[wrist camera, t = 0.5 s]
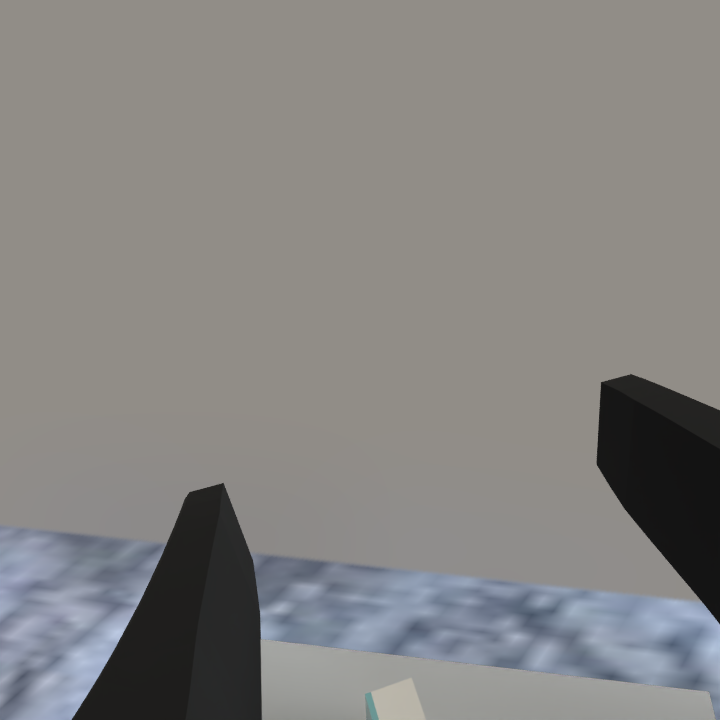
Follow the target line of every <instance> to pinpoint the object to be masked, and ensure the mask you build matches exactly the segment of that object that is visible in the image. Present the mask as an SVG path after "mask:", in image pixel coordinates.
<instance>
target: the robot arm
mask: <svg viewBox="0 0 720 720" xmlns="http://www.w3.org/2000/svg"><path fill="white" fill-rule="evenodd" d="M597 466H598V468H599V469H600V471H601V472H602V474H603V476H604V477H605V479H606V481H607V482H608V484H609V485H610V487H611V489H612V490H613V492H614V493H615V495H616V496H617V498H618V499H619V501H620V502H621V504H622V506H623V507H624V508H625V510H626V511H627V512H628V514H629V515H630V516H631V517H632V518H633V520H634V521H635V522H636V523H637V525H638V526H639V527H640V528H641V529H642V531H643V532H644V533H645V534H646V535H647V537H648V538H649V539H650V540H651V542H652V543H653V544H654V545H655V546H656V547H657V549H658V550H659V551H660V552H661V553H662V555H663V556H664V557H665V558H666V559H667V561H668V562H669V563H670V564H671V565H672V566H673V568H674V569H675V570H676V571H677V572H678V574H679V575H680V576H681V577H682V578H683V580H684V581H685V582H686V583H687V584H688V586H689V587H690V588H691V589H692V590H693V591H694V593H695V594H696V595H697V596H698V597H699V599H700V600H701V601H702V602H703V603H704V605H705V606H706V607H707V608H708V610H709V611H710V612H711V613H712V615H713V616H714V617H715V619H716V620H717V621H718V622H719V624H720V410H717V409H715V408H713V407H710V406H708V405H706V404H703V403H701V402H699V401H696V400H694V399H692V398H689V397H687V396H684V395H682V394H680V393H677V392H675V391H672V390H670V389H668V388H665V387H663V386H660V385H658V384H655V383H653V382H650V381H648V380H645V379H643V378H639V377H637V376H634V375H632V374H630V375H627V376H623V377H619V378H616V379H612V380H608V381H605V382H601V394H600V412H599V431H598V448H597ZM72 720H262V690H261V632H260V610H259V602H258V594H257V586H256V579H255V572H254V564H253V559H252V557H251V554H250V552H249V549H248V546H247V544H246V541H245V538H244V536H243V533H242V530H241V528H240V525H239V523H238V520H237V517H236V515H235V512H234V509H233V507H232V504H231V502H230V499H229V496H228V494H227V491H226V488H225V486H224V483H222V484H219V485H215V486H211V487H207V488H204V489H200V490H196V491H193V492H189V494H188V495H187V497H186V498H185V500H184V503H183V506H182V508H181V511H180V513H179V516H178V518H177V521H176V523H175V526H174V528H173V531H172V533H171V535H170V538H169V540H168V542H167V545H166V547H165V549H164V552H163V554H162V556H161V558H160V561H159V563H158V565H157V567H156V569H155V571H154V573H153V575H152V578H151V580H150V582H149V584H148V586H147V588H146V590H145V592H144V595H143V597H142V599H141V601H140V603H139V605H138V607H137V608H136V610H135V612H134V614H133V616H132V618H131V620H130V622H129V623H128V625H127V627H126V629H125V631H124V633H123V635H122V637H121V638H120V640H119V642H118V644H117V646H116V648H115V650H114V651H113V653H112V655H111V657H110V658H109V660H108V662H107V664H106V665H105V667H104V669H103V670H102V672H101V674H100V675H99V677H98V679H97V680H96V682H95V684H94V685H93V687H92V689H91V690H90V692H89V693H88V695H87V697H86V698H85V700H84V701H83V703H82V704H81V706H80V708H79V709H78V711H77V712H76V714H75V715H74V717H73V718H72Z"/></svg>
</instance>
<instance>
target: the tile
mask: <svg viewBox="0 0 720 720" xmlns="http://www.w3.org/2000/svg"><path fill="white" fill-rule="evenodd" d="M365 707H366V720H426V718H425V715H424V712H423V710H422V707H421V704H420V701H419V698H418V695H417V692H416V689H415V686H414V683H413V680H412V678H409V679H406V680H403V681H400V682H398V683H395V684H392V685H389V686H386V687H383V688H381V689H378V690H375V691H372V692H369V693H366V694H365Z"/></svg>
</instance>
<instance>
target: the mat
mask: <svg viewBox="0 0 720 720" xmlns="http://www.w3.org/2000/svg"><path fill="white" fill-rule="evenodd" d="M409 678H412V680H413V683H414V686H415V689H416V692H417V695H418V698H419V701H420V704H421V707H422V710H423V712H424V715H425V718H426V720H716V718H715V714H714V710H713V706H712V702H711V698H710V694H709V692H706V691H697V690H689V689H680V688H672V687H663V686H655V685H646V684H638V683H629V682H621V681H612V680H604V679H595V678H587V677H578V676H569V675H561V674H552V673H544V672H535V671H527V670H518V669H510V668H501V667H493V666H484V665H476V664H467V663H459V662H450V661H442V660H433V659H425V658H416V657H408V656H399V655H391V654H382V653H374V652H365V651H357V650H348V649H340V648H331V647H323V646H314V645H306V644H297V643H289V642H280V641H272V640H263V639H261V690H262V720H366V707H365V694H366V693H369V692H372V691H375V690H378V689H381V688H383V687H386V686H389V685H392V684H395V683H398V682H400V681H403V680H406V679H409Z"/></svg>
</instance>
